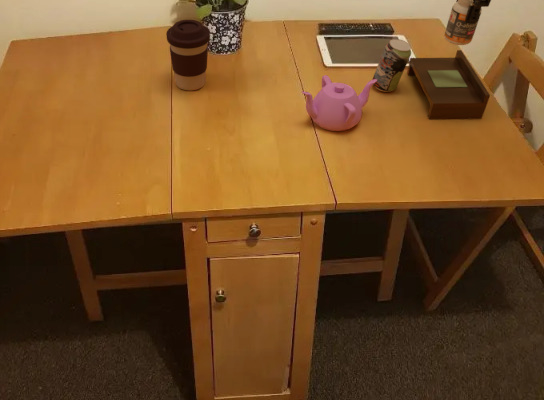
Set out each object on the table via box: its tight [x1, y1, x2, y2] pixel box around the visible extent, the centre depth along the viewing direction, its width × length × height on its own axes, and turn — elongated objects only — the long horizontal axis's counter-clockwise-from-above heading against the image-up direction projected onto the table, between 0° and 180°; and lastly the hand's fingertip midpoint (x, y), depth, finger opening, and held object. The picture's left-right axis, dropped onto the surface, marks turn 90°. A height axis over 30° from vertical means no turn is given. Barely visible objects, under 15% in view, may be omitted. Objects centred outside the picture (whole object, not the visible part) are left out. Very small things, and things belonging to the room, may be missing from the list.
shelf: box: [406, 49, 491, 120], centre depth 136 cm, size 20×12×6 cm, turn 1°
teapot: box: [301, 74, 377, 132], centre depth 128 cm, size 12×14×9 cm
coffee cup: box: [165, 19, 211, 91], centre depth 137 cm, size 10×10×15 cm
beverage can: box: [371, 38, 412, 93], centre depth 136 cm, size 6×7×12 cm
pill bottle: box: [443, 0, 483, 46], centre depth 120 cm, size 6×6×10 cm
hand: (465, 15), depth 120 cm, fingers closed on pill bottle, 5 cm apart
